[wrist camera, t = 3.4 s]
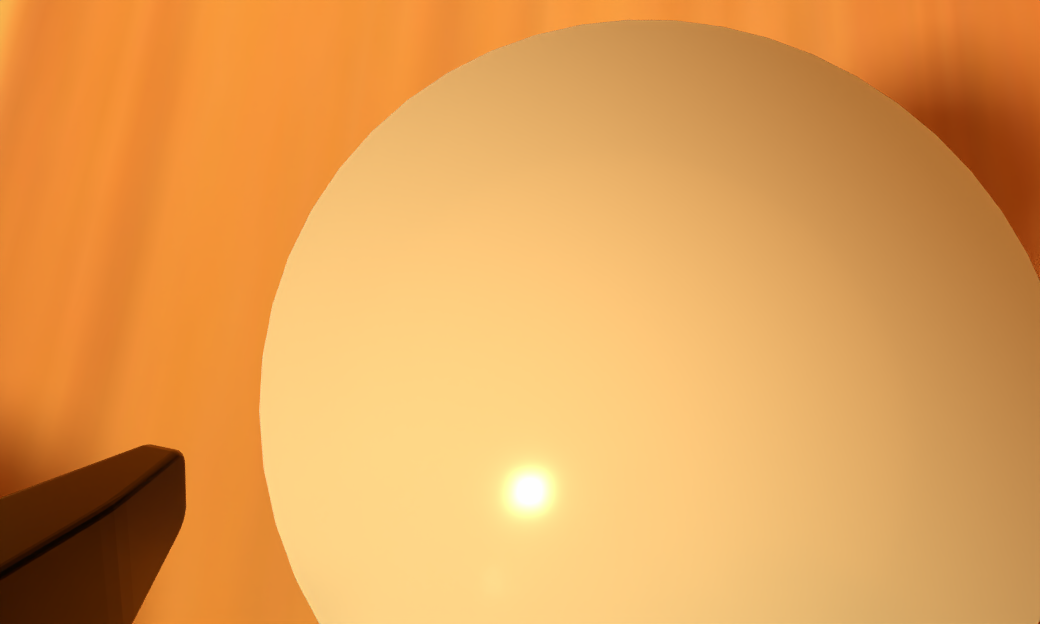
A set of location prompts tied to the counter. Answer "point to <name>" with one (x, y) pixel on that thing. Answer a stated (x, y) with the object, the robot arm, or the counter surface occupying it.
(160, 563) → the robot arm
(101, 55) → the counter surface
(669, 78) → the canister
